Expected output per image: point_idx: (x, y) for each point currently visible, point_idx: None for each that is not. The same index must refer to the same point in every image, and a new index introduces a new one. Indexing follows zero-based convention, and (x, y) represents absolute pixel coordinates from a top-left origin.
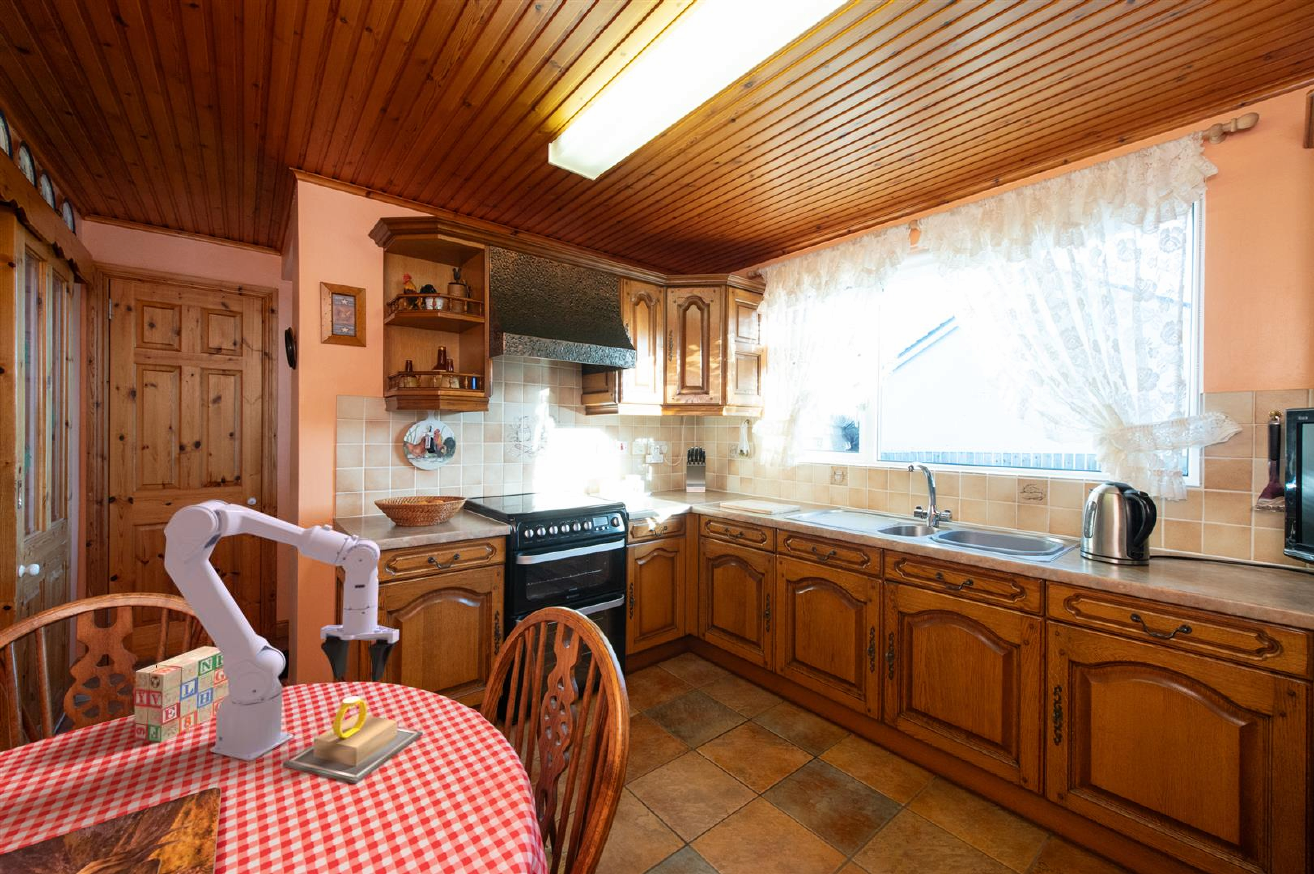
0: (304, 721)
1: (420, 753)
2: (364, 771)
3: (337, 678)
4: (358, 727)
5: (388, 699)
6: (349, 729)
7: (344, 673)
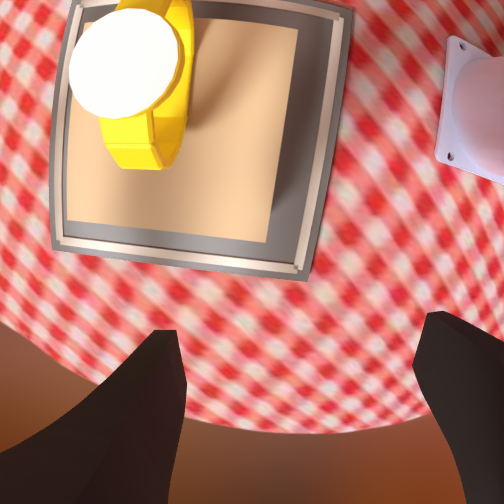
0: (453, 248)
1: (9, 164)
2: (72, 28)
3: (428, 314)
4: (158, 120)
5: (293, 392)
6: (201, 115)
7: (416, 367)
